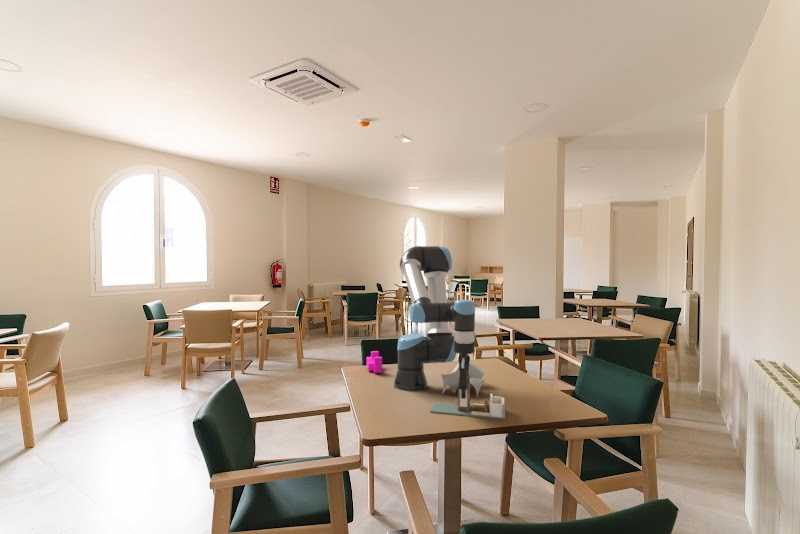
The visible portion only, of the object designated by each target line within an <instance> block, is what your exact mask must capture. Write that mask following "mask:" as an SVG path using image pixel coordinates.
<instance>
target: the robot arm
mask: <svg viewBox="0 0 800 534" xmlns="http://www.w3.org/2000/svg"><path fill="white" fill-rule="evenodd" d="M452 259H453V258H452V255H451V252H450V250H449V249H448V248H447V247H446V246H439V245H436V246H434V245H433V246H429V245H428V246H422V245H421V246H419V245H418V246H413V247H412V246H411V247H410V248H408V249H407V250H405V252H404V253H403V254H402V256H401V258H400V262H399V269H400V271H401V273H402V275H403V276H404V278H405V283H406V284H407V289H408V293H409V295H410V299H411V304H410V305H409V309H408V310H409V313H408V314H409V320H410V322H412V323H416V324H418V323H419V324H425V323H426V324H427V323H429V329H428V331H427V332H426V336H424V334H422V333H409V334H405V335H402V336H400V337H399V338H398V339H397V346H396V347H397V348H396V349H397V371H396V374H395V376H394V377H395V378H394V381H393V388H394V389H397V390H400V391H409V392H411V391H412V392H415V391H416V392H417V391H425V390H427V389H428V380H427V377H426V373H425V370H424V369H425V368H424V364H437V363H438V364H441V363H442V364H445V363H451V362H453V361H454V360H455V359H456V356H457V354H460V355H459V357H458V364H459V370H460V386H459V387H458V388H457V390H458V389H460V406H461V407H467V375H469V361H470V362H471V356H470V355H472V354H474V353H475V348H476V347H475V345H476V343H475V338H476V336H477V333H476V332H475V324H476V323H475V321H476V316H475V315H476V308H475V307H476V306H475V304H476V303H475V301H474V300H470V299H456V300H455V301H449V302H447V301H448V300H447V299H448V298H447V284H446V277H447V276H448V275H449V271H451V270H452V268H453V267H452V265H453V260H452ZM422 272H423V273H422ZM424 277H425V278H426V281H427V284H426V282H425V279H424ZM426 285H427V286H426ZM449 323H454V325H453V327H454V328H453V331H451V330H450V329H449Z"/></svg>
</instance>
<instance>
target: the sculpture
mask: <svg viewBox="0 0 800 534" xmlns="http://www.w3.org/2000/svg"><path fill="white" fill-rule="evenodd" d="M485 372H486V371H485V370H483V369H480V368H479V367H478V366H476V365H475V364H474V363H473V362H471V360H470V361H469V376H470V387H471V386H473V387H474V389H475V393H476V397H478V396H479V392H480V390H481V387H482V386H483V385H484V382H485V379H483V376H484V374H485ZM440 375H441V379H442V384H443V389H442V393H441V394H442V396H443V394H444V392H445V391H446V390H447V389H448V388H449V387H450V390H451V392H452V393H453V394H456V392H457V391H458V377H459V375H460V370H459V363H458V364H456V366H455V367H454V369H452V371H451V373H448V374H443V373H440Z"/></svg>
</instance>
